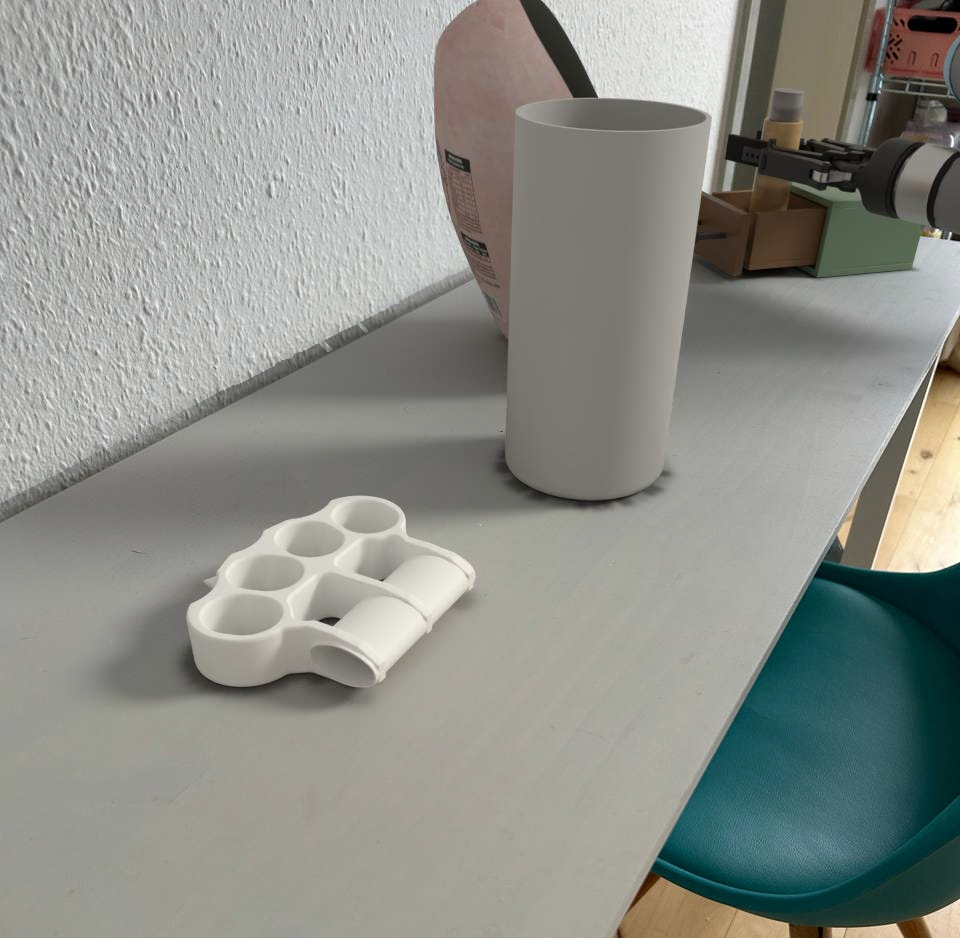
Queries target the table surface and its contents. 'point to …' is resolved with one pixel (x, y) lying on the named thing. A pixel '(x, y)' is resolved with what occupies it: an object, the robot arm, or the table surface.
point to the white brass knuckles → (324, 598)
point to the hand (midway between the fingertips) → (743, 144)
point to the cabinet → (858, 236)
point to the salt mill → (788, 133)
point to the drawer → (757, 232)
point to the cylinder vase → (599, 289)
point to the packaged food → (494, 122)
